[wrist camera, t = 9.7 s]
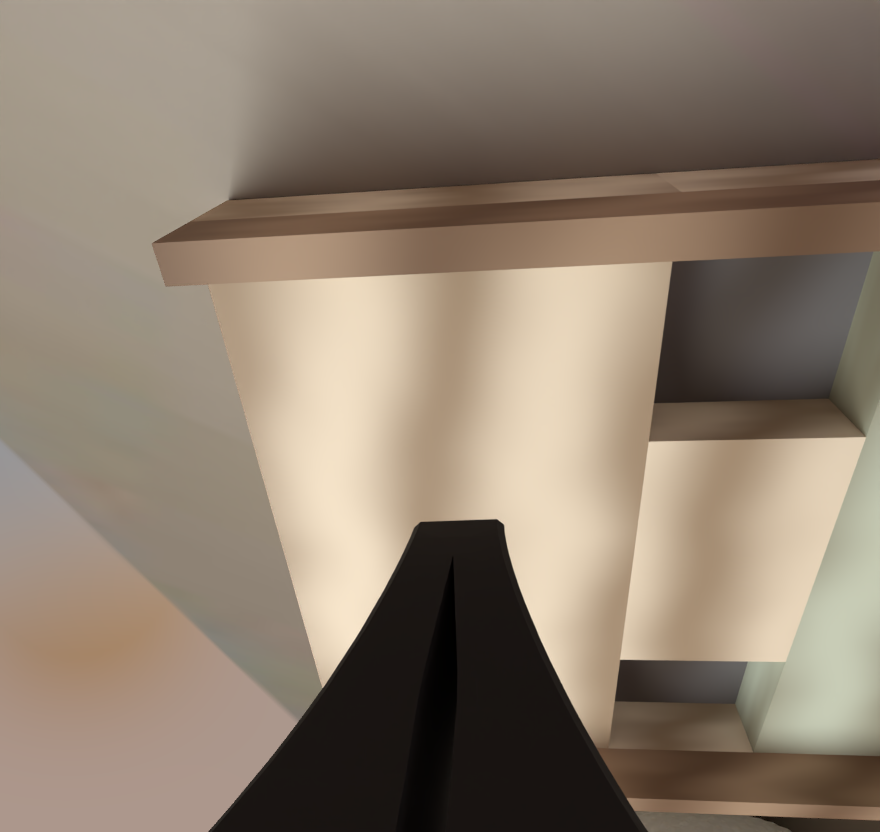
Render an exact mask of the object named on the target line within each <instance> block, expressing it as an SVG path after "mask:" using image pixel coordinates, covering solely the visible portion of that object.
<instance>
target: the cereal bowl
mask: <svg viewBox="0 0 880 832" xmlns="http://www.w3.org/2000/svg"><path fill="white" fill-rule="evenodd" d="M635 813H636V814H637V816H638V817H639V819H640V820H641V822H642V823H643V825H644V826H645V828H646V829H647V831H648V832H792V831H790V830H789V829H787V828H785V827H781V826H778V825H777V824H775V823H773V822H769V821H765V820H763V819H761V818H755V817H751V816H749V815H724V814H698V813H672V812H646V811H635Z"/></svg>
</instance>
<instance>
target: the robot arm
mask: <svg viewBox="0 0 880 832" xmlns="http://www.w3.org/2000/svg"><path fill="white" fill-rule="evenodd" d="M209 832H648V831H647V829H646V828H645V826H644V825H643V823H642V822H641V820H640V819H639V817H638V816H637V814H636V813H635V811H634V809H633V808H632V806H631V805H630V803H629V801H628V800H627V798H626V796H625V795H624V793H623V792H622V790H621V788H620V787H619V785H618V783H617V782H616V780H615V778H614V777H613V775H612V773H611V772H610V770H609V769H608V767H607V765H606V764H605V762H604V760H603V758H602V757H601V755H600V753H599V751H598V750H597V748H596V746H595V744H594V743H593V741H592V739H591V737H590V736H589V734H588V732H587V730H586V729H585V727H584V725H583V723H582V721H581V720H580V718H579V716H578V714H577V712H576V710H575V708H574V707H573V705H572V703H571V701H570V699H569V697H568V695H567V693H566V691H565V689H564V687H563V685H562V683H561V681H560V679H559V677H558V675H557V673H556V671H555V669H554V667H553V665H552V663H551V661H550V659H549V657H548V655H547V652H546V650H545V648H544V646H543V644H542V642H541V639H540V637H539V635H538V632H537V630H536V627H535V625H534V623H533V620H532V618H531V616H530V613H529V611H528V608H527V606H526V604H525V601H524V598H523V596H522V593H521V590H520V588H519V585H518V582H517V579H516V576H515V573H514V569H513V566H512V563H511V559H510V556H509V552H508V548H507V543H506V537H505V528H504V524H503V523H501V522H500V521H499V520H498V519H485V520H456V521H428V522H420V523H419V524H418V525H416V526H415V527H414V529H413V532H412V534H411V537H410V539H409V541H408V543H407V545H406V548H405V550H404V552H403V554H402V556H401V558H400V560H399V562H398V564H397V566H396V568H395V570H394V572H393V574H392V576H391V577H390V579H389V581H388V583H387V585H386V587H385V589H384V591H383V592H382V594H381V596H380V598H379V599H378V601H377V603H376V604H375V606H374V608H373V610H372V611H371V613H370V615H369V617H368V618H367V620H366V622H365V623H364V625H363V627H362V629H361V630H360V632H359V634H358V635H357V637H356V638H355V640H354V642H353V643H352V645H351V646H350V648H349V649H348V651H347V652H346V654H345V655H344V657H343V658H342V660H341V661H340V663H339V664H338V666H337V667H336V669H335V670H334V672H333V674H332V675H331V677H330V678H329V680H328V681H327V683H326V684H325V686H324V687H323V689H322V690H321V691H320V693H319V694H318V696H317V697H316V698H315V700H314V701H313V703H312V704H311V705H310V707H309V708H308V710H307V711H306V712H305V714H304V715H303V716H302V718H301V719H300V720H299V722H298V723H297V725H296V726H295V727H294V728H293V730H292V731H291V732H290V734H289V735H288V736H287V738H286V739H285V740H284V741H283V743H282V744H281V746H280V747H279V748H278V749H277V751H276V752H275V753H274V754H273V756H272V757H271V758H270V759H269V761H268V762H267V763H266V764H265V765H264V767H263V768H262V769H261V771H260V772H259V773H258V774H257V775H256V776H255V778H254V779H253V780H252V781H251V782H250V784H249V785H248V786H247V787H246V788H245V790H244V791H243V792H242V793H241V795H240V796H239V797H238V798H237V799H236V800H235V802H234V803H233V804H232V805H231V807H230V808H229V809H228V810H227V811H226V812H225V813H224V814H223V816H222V817H221V818H220V819H219V820H218V821H217V823H216V824H215V825H214V826H213V827H212V828H211V829H210V830H209Z"/></svg>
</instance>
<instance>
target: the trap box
mask: <svg viewBox="0 0 880 832" xmlns="http://www.w3.org/2000/svg"><path fill="white" fill-rule="evenodd" d="M152 246H153V249H154V252H155V255H156V258H157V261H158V264H159V267H160V270H161V274H162V277H163V280H164V283H165V286H186V285H206V284H208V287H209V290H210V294H211V297H212V301H213V304H214V308H215V311H216V315H217V318H218V322H219V325H220V329H221V332H222V336H223V340H224V343H225V347H226V350H227V354H228V357H229V361H230V364H231V368H232V371H233V375H234V378H235V382H236V385H237V389H238V392H239V396H240V399H241V403H242V406H243V410H244V413H245V417H246V420H247V424H248V427H249V431H250V435H251V438H252V442H253V445H254V449H255V452H256V456H257V459H258V463H259V466H260V470H261V473H262V477H263V480H264V484H265V487H266V491H267V494H268V498H269V501H270V505H271V508H272V512H273V515H274V519H275V523H276V526H277V530H278V533H279V537H280V540H281V544H282V547H283V551H284V554H285V558H286V561H287V565H288V568H289V572H290V575H291V579H292V582H293V586H294V589H295V593H296V596H297V600H298V603H299V607H300V610H301V614H302V618H303V621H304V625H305V628H306V632H307V635H308V639H309V642H310V646H311V649H312V653H313V656H314V660H315V663H316V667H317V670H318V674H319V677H320V681H321V684H322V688H323V687H324V686H325V684H326V683H327V681H328V680H329V678H330V677H331V675H332V674H333V672H334V670H335V669H336V667H337V666H338V664H339V663H340V661H341V660H342V658H343V657H344V655H345V654H346V652H347V651H348V649H349V648H350V646H351V645H352V643H353V642H354V640H355V638H356V637H357V635H358V634H359V632H360V630H361V629H362V627H363V625H364V623H365V622H366V620H367V618H368V617H369V615H370V613H371V611H372V610H373V608H374V606H375V604H376V603H377V601H378V599H379V598H380V596H381V594H382V592H383V591H384V589H385V587H386V585H387V583H388V581H389V579H390V577H391V576H392V574H393V572H394V570H395V568H396V566H397V564H398V562H399V560H400V558H401V556H402V554H403V552H404V550H405V548H406V545H407V543H408V541H409V539H410V537H411V534H412V532H413V529H414V527H415V526H416V525H418V524H419V523H420V522H428V521H456V520H485V519H498V520H499V521H500V522H501V523H503V524H504V528H505V537H506V543H507V548H508V552H509V556H510V559H511V563H512V566H513V569H514V573H515V576H516V579H517V582H518V585H519V588H520V590H521V593H522V596H523V598H524V601H525V604H526V606H527V608H528V611H529V613H530V616H531V618H532V620H533V623H534V625H535V627H536V630H537V632H538V635H539V637H540V639H541V642H542V644H543V646H544V648H545V650H546V652H547V655H548V657H549V659H550V661H551V663H552V665H553V667H554V669H555V671H556V673H557V675H558V677H559V679H560V681H561V683H562V685H563V687H564V689H565V691H566V693H567V695H568V697H569V699H570V701H571V703H572V705H573V707H574V708H575V710H576V712H577V714H578V716H579V718H580V720H581V721H582V723H583V725H584V727H585V729H586V730H587V732H588V734H589V736H590V737H591V739H592V741H593V743H594V744H595V746H596V748H597V750H598V751H599V753H600V755H601V757H602V758H603V760H604V762H605V764H606V765H607V767H608V769H609V770H610V772H611V773H612V775H613V777H614V778H615V780H616V782H617V783H618V785H619V787H620V788H621V790H622V792H623V793H624V795H625V796H626V798H627V800H628V801H629V803H630V805H631V806H632V808H633V809H634V811H646V812H672V813H698V814H724V815H750V816H776V817H802V818H828V819H854V820H880V159H874V160H858V161H842V162H827V163H811V164H795V165H779V166H764V167H748V168H732V169H716V170H701V171H685V172H669V173H653V174H638V175H622V176H606V177H590V178H575V179H559V180H543V181H527V182H512V183H496V184H480V185H464V186H449V187H433V188H417V189H401V190H386V191H370V192H354V193H338V194H323V195H307V196H291V197H275V198H259V199H244V200H228V201H225V202H224V203H222V204H220V205H218V206H217V207H215V208H213V209H211V210H210V211H208V212H206V213H204V214H203V215H201V216H199V217H197V218H196V219H194V220H192V221H190V222H189V223H187V224H185V225H183V226H181V227H180V228H178V229H176V230H174V231H173V232H171V233H169V234H167V235H166V236H164V237H162V238H160V239H159V240H157V241H155V242H153V243H152Z"/></svg>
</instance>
